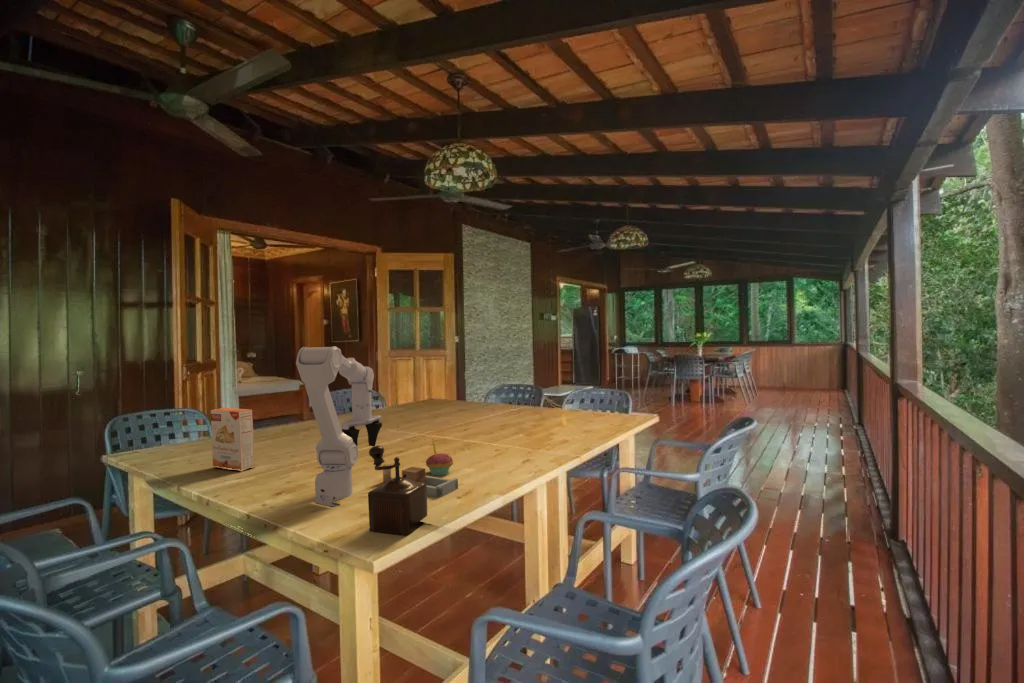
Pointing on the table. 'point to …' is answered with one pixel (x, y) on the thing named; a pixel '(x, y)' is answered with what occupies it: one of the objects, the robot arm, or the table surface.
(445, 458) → the cupcake
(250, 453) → the cracker box
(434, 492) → the lane shelf
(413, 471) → the block
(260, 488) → the table surface
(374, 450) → the manual coffee grinder
